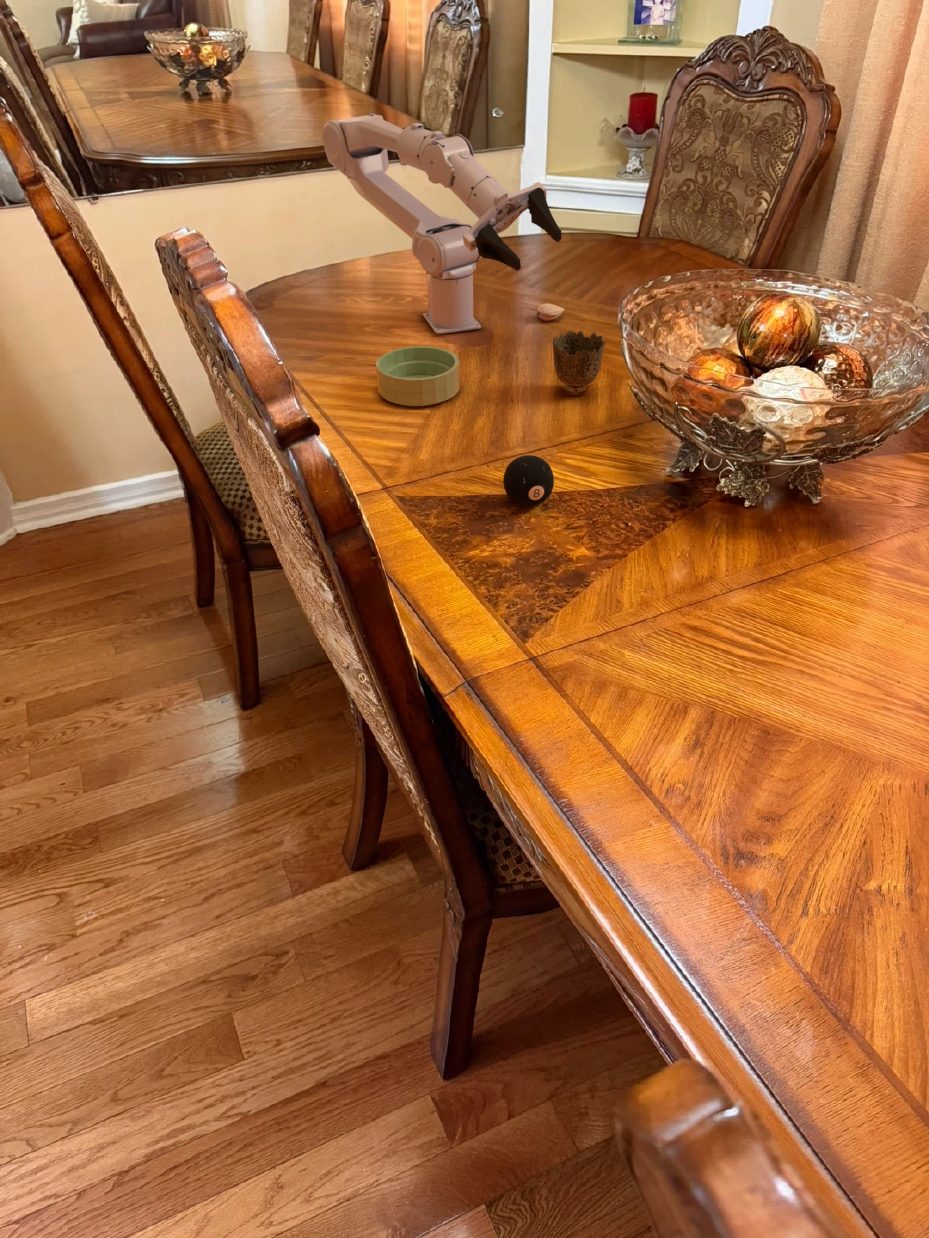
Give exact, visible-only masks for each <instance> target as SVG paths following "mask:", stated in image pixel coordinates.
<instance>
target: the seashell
mask: <svg viewBox="0 0 929 1238" xmlns="http://www.w3.org/2000/svg"><path fill="white" fill-rule="evenodd" d="M536 310H537V312H536V315H537V316H538V318H539V320H542V321H546V322H548V321H552V320H556V319H557V318H558V317H560V316H561V315H562V313H564V311H565V308H563V307H561V306H560V305H556V304H553V303H541V304H540V305H539V306H537V308H536Z"/></svg>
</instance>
